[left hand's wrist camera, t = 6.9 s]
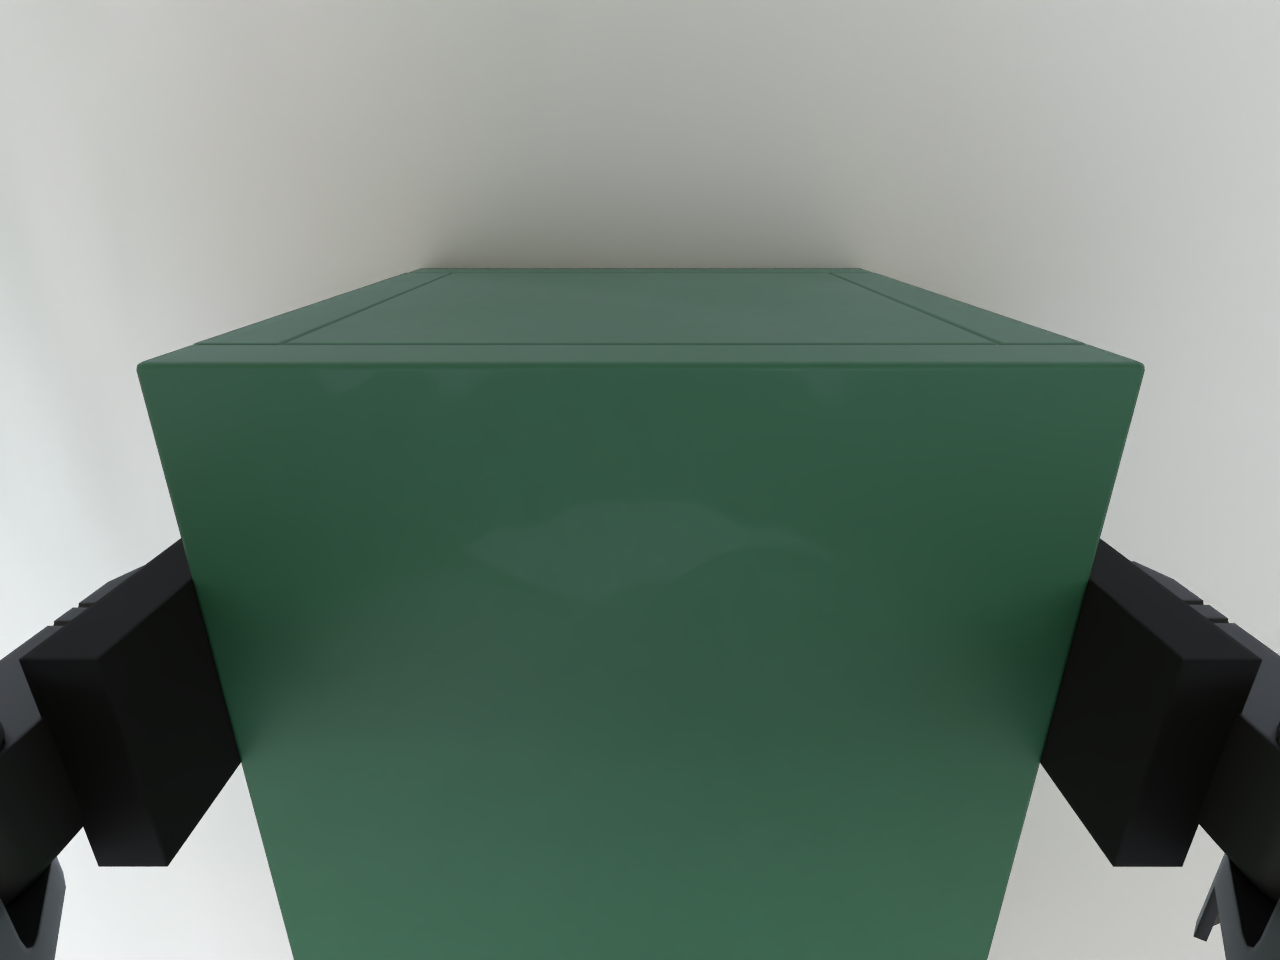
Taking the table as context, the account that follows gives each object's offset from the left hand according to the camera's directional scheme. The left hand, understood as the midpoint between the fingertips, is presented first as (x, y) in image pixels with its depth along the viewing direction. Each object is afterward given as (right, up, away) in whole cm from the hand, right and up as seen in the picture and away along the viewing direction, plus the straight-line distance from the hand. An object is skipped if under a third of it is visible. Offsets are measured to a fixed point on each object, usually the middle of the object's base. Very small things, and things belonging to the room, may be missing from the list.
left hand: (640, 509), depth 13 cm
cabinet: (0, -4, +7) cm, 8 cm away
